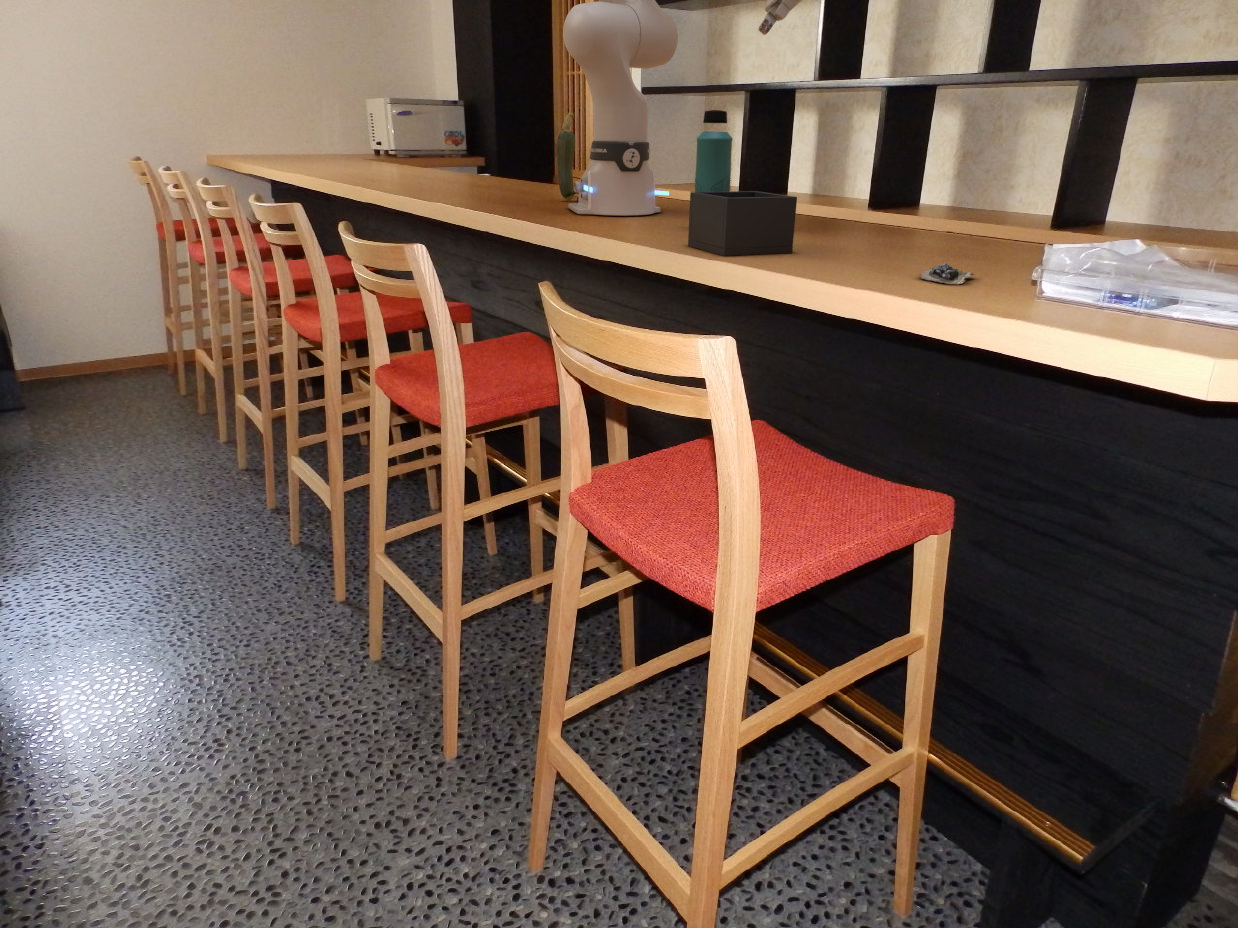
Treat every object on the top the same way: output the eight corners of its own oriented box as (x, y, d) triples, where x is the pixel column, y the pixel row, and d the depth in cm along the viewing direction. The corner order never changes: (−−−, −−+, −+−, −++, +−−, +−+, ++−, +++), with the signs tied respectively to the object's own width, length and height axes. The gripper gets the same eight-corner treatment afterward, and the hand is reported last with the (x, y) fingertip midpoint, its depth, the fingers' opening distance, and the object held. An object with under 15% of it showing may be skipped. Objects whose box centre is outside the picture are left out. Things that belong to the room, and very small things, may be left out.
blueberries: (971, 275, 108) (974, 260, 107) (982, 286, 101) (984, 270, 100) (916, 273, 109) (918, 258, 109) (923, 283, 102) (925, 267, 101)
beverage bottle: (727, 232, 149) (734, 110, 142) (689, 230, 150) (695, 109, 143) (729, 228, 155) (737, 110, 148) (694, 226, 156) (699, 110, 149)
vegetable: (555, 202, 202) (554, 111, 194) (559, 200, 206) (558, 112, 198) (573, 202, 201) (573, 112, 194) (577, 201, 205) (577, 112, 198)
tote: (687, 245, 131) (690, 192, 128) (752, 243, 135) (755, 191, 132) (724, 256, 121) (727, 198, 118) (792, 252, 125) (797, 197, 122)
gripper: (786, -39, 150) (740, 28, 152) (827, -84, 130) (773, -6, 132) (813, -15, 152) (766, 51, 153) (857, -55, 132) (803, 21, 134)
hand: (770, 24), depth 143 cm, fingers open, 8 cm apart
